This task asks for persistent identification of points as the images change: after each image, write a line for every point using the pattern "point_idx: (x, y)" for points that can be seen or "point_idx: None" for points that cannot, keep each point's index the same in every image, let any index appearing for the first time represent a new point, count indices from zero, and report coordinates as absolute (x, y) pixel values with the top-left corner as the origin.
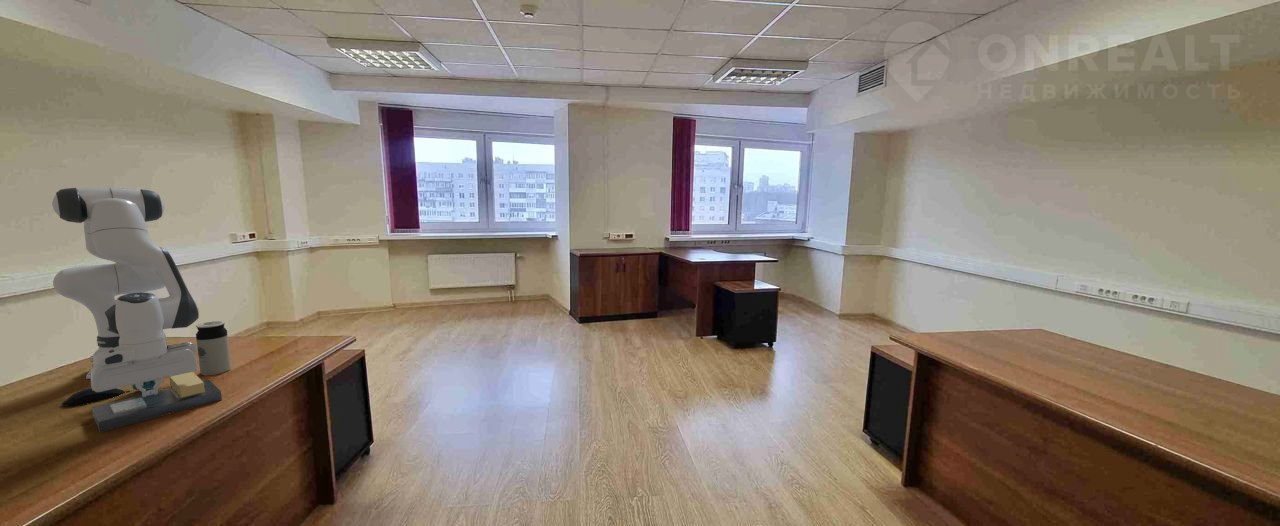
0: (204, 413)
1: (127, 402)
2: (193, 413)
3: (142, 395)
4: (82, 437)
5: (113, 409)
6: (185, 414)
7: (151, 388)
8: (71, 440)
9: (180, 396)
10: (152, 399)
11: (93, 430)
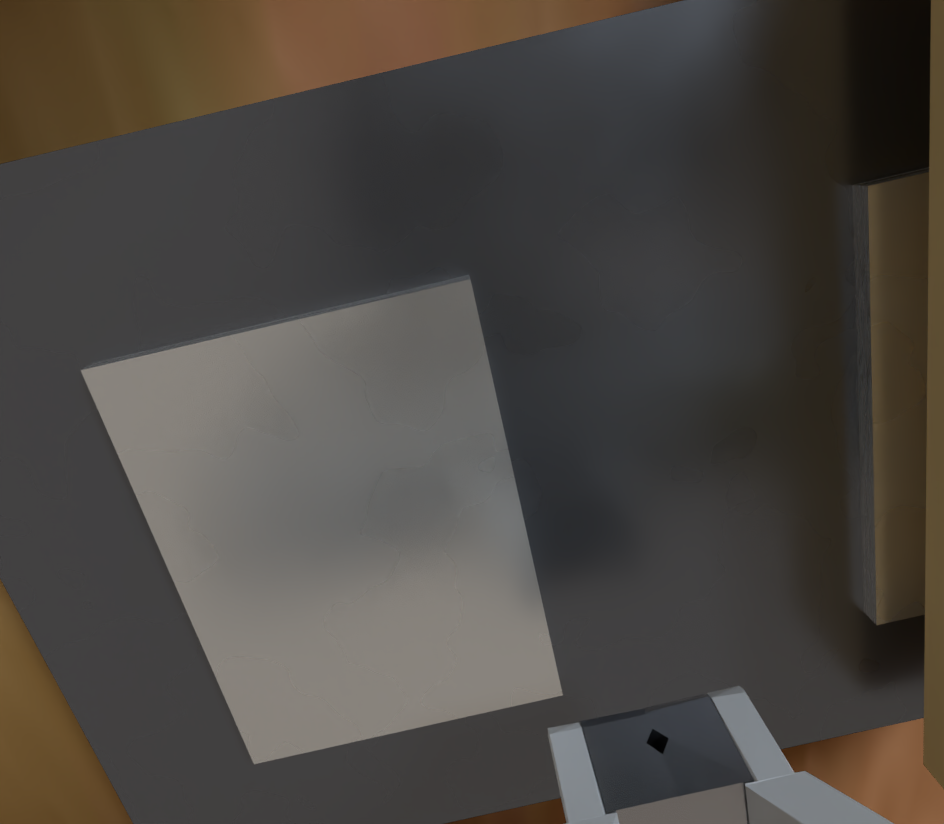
0: (937, 813)
1: (313, 426)
2: (870, 764)
3: (551, 746)
4: (101, 796)
5: (208, 634)
6: (815, 749)
7: (715, 810)
8: (35, 813)
9: (925, 719)
10: (608, 440)
11: None
